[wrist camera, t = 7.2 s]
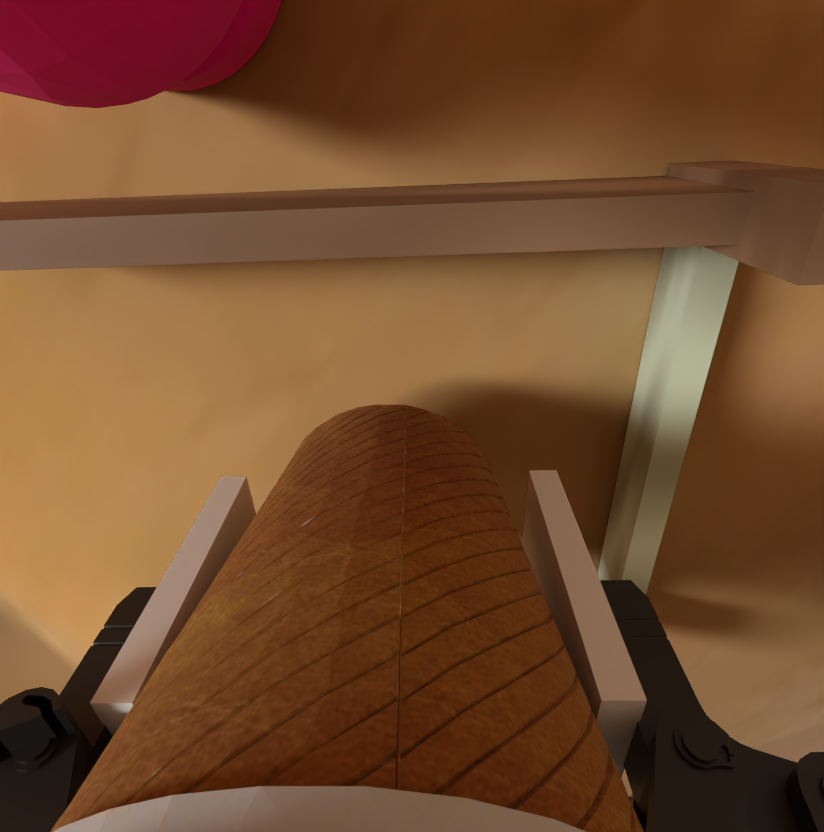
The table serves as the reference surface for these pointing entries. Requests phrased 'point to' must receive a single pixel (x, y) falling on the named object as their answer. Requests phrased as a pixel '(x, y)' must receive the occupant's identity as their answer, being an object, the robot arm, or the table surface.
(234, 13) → the pepper mill
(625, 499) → the bay
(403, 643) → the disposable coffee cup
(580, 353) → the table surface
